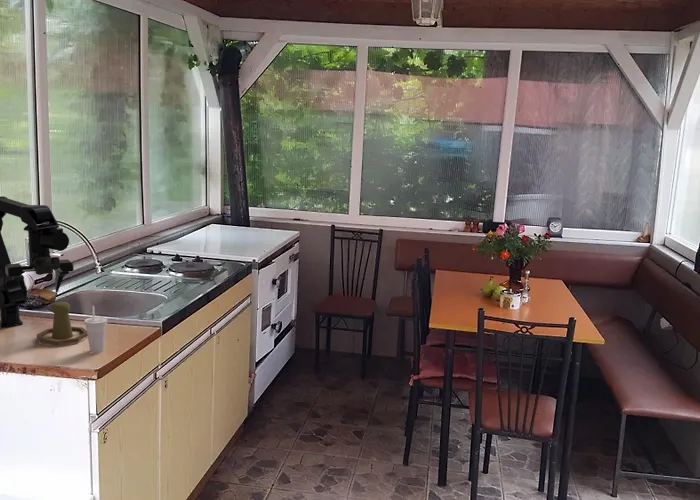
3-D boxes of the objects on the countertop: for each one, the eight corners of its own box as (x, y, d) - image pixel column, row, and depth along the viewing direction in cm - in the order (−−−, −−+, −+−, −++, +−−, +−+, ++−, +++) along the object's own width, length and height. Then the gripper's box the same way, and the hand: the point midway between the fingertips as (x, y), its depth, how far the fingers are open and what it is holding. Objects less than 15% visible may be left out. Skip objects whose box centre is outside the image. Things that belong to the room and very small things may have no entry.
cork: (76, 334, 204) (75, 300, 202) (66, 340, 198) (64, 306, 196) (58, 332, 204) (57, 299, 202) (47, 338, 198) (46, 304, 196)
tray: (33, 335, 203) (33, 330, 202) (80, 328, 211) (80, 323, 210) (43, 349, 192) (43, 344, 191) (92, 341, 200) (91, 336, 200)
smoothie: (85, 348, 194) (83, 303, 191) (108, 346, 196) (106, 302, 193) (85, 355, 188) (83, 309, 185) (108, 353, 190) (106, 308, 188)
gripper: (10, 253, 188) (12, 304, 191) (77, 249, 199) (78, 297, 202) (3, 246, 197) (6, 295, 200) (68, 242, 208) (69, 288, 211)
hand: (41, 294), depth 203 cm, fingers open, 9 cm apart
